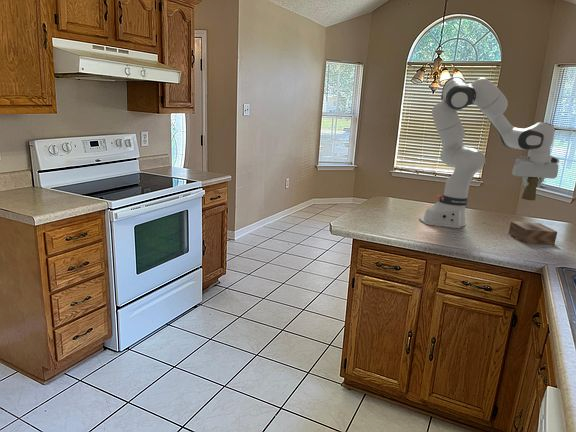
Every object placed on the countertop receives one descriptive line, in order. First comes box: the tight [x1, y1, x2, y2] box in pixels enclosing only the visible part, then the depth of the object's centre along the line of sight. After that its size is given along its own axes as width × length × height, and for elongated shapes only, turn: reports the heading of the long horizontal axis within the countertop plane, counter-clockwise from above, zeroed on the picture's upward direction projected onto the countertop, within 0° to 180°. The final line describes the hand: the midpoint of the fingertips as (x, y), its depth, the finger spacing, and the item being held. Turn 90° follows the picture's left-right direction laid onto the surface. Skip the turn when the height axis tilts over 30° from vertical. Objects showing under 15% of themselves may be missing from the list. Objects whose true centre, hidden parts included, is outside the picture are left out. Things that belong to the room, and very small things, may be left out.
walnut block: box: [508, 221, 558, 245], centre depth 197 cm, size 14×14×6 cm
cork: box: [521, 177, 540, 201], centre depth 204 cm, size 6×6×11 cm
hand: (531, 186), depth 203 cm, fingers closed on cork, 4 cm apart
